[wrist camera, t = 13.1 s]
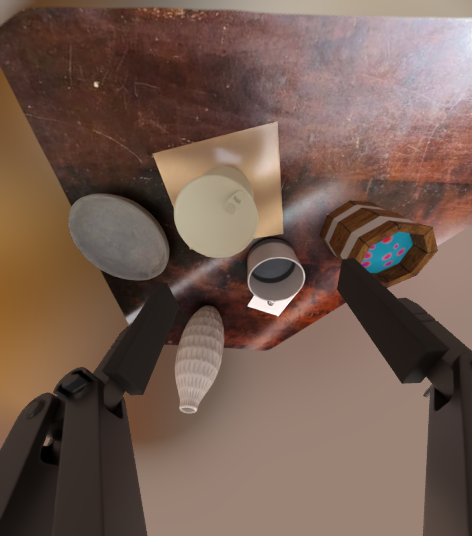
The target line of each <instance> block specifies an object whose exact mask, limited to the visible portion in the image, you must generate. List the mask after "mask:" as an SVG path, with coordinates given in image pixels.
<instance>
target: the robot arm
mask: <svg viewBox="0 0 472 536" xmlns="http://www.w3.org/2000/svg"><path fill="white" fill-rule="evenodd" d="M337 290H338V291H339V293H340V294H341V296H342V297H343V298H344V300H345V301H346V303H347V304H348V306H349V307H350V309H351V310H352V311H353V313H354V314H355V316H356V317H357V319H358V320H359V322H360V323H361V325H362V326H363V328H364V329H365V330H366V332H367V333H368V335H369V336H370V338H371V339H372V341H373V342H374V344H375V345H376V347H377V348H378V349H379V351H380V352H381V354H382V355H383V357H384V358H385V360H386V361H387V362H388V364H389V365H390V367H391V368H392V370H393V371H394V373H395V374H396V376H397V377H398V379H399V380H400V381H401V383H402V384H403V383H420V382H422V380H423V379H424V378H425V377H427V378H428V379H429V380H430V381H431V383H432V385H431V386H430V387H429V388H428V389H427V390H426V391H425V393H424V395H423V396H425V397H428V396H429V395H430V405H429V424H428V445H427V465H426V486H425V505H424V526H423V536H472V351H471V350H470V349H469V348H467V347H466V346H465V345H464V344H463V343H462V342H461V341H460V340H458V339H457V338H456V337H455V336H454V335H453V334H452V333H450V332H449V331H448V330H447V329H446V328H445V327H443V326H442V325H441V324H440V323H439V322H438V321H435V319H434V318H433V317H432V316H431V315H430V314H427V312H426V311H425V310H424V309H423V308H422V307H420V306H419V305H418V304H416V303H414V302H413V301H411V300H409V299H407V298H399V299H397V298H396V297H395V296H394V295H393V294H392V293H391V292H390V291H389V290H388V289H387V288H386V287H385V286H383V285H382V284H381V283H380V282H379V281H378V280H377V279H376V278H375V277H374V276H373V275H372V274H371V273H370V272H369V271H368V270H367V269H366V268H365V267H363V266H362V265H361V264H360V263H359V262H358V261H357V260H356V259H355V258H347V259H342V264H341V269H340V275H339V281H338V287H337ZM178 309H179V305H178V303H177V301H176V300H175V298H174V296H173V294H172V292H171V290H170V288H169V286H168V284H167V283H161V284H157V286H156V288H155V289H154V291H153V292H152V294H151V295H150V297H149V298H148V300H147V301H146V303H145V305H144V306H143V308H142V309H141V311H140V312H139V314H138V315H137V317H136V318H135V320H134V322H133V323H132V325H131V326H128V327H126V329H124V330H123V331H122V332H121V333H120V334H119V336H118V337H117V339H116V340H115V343H114V344H113V345H112V346H111V349H110V350H109V351H108V352H107V354H106V355H105V357H104V358H103V360H102V361H101V362H100V364H99V365H98V367H97V368H96V370H95V371H94V373H93V374H92V373H91V372H90V371H89V370H87V369H86V368H83V367H80V368H76V369H74V370H72V371H71V372H69V373H68V374H67V375H65V376H64V377H63V378H62V379H61V380H60V381H59V383H58V384H57V385H56V387H55V389H54V392H53V393H55V394H56V395H58V396H55V395H53V394H51V393H44V394H42V395H40V396H38V397H37V398H35V399H34V400H32V401H31V402H30V403H29V404H28V405H27V406H26V407H25V408H24V409H23V410H22V412H21V413H20V415H19V416H18V418H17V420H16V422H15V423H14V425H13V427H12V429H11V431H10V433H9V435H8V437H7V438H6V440H5V442H4V444H3V446H2V448H1V450H0V536H147V531H146V525H145V519H144V513H143V507H142V501H141V494H140V488H139V482H138V476H137V470H136V464H135V458H134V452H133V446H132V440H131V434H130V428H129V422H128V416H127V410H126V404H125V400H124V397H122V396H123V394H124V392H125V391H126V392H127V393H129V394H130V395H143V394H144V391H145V389H146V387H147V384H148V382H149V379H150V377H151V374H152V372H153V370H154V367H155V365H156V362H157V360H158V358H159V355H160V353H161V350H162V348H163V345H164V343H165V341H166V338H167V336H168V333H169V331H170V328H171V326H172V324H173V321H174V319H175V316H176V314H177V311H178ZM46 437H47V438H50V441H49V443H48V445H47V446H43V444H44V441H45V439H46Z"/></svg>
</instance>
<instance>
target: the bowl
mask: <svg viewBox="0 0 472 536" xmlns="http://www.w3.org/2000/svg"><path fill="white" fill-rule="evenodd" d="M68 224H69V230H70V233H71V236H72V238H73V240H74V243H75V245H76V246H77V248H78V249H79V250H80V252H81V253H82V254H83V255H84V256H85V257H86V258H87V259H88V260H89V261H90V262H91V263H93V264H94V265H95V266H96V267H98V268H99V269H101V270H102V271H104V272H106V273H108V274H111V275H113V276H116V277H119V278H123V279H128V280H148V279H151V278H154V277H156V276H158V275H159V274H160V273H161V272H162V271H163V270H164V269H165V267H166V266H167V263H168V259H169V245H168V240H167V237H166V235H165V233H164V231H163V229H162V227H161V225H160V224H159V223H158V221H157V220H156V219H155V218H154V217H153V215H152V214H150V213H149V212H148V211H147V210H146V209H145V208H143V207H142V206H141V205H139V204H137V203H136V202H134V201H132V200H130V199H127V198H124V197H121V196H118V195H113V194H91V195H87V196H84V197H82V198H80V199H78V200H77V201H76V202H75V203H74V204H73V206H72V207H71V210H70V213H69V220H68Z"/></svg>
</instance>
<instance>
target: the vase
mask: <svg viewBox="0 0 472 536" xmlns="http://www.w3.org/2000/svg"><path fill="white" fill-rule="evenodd" d="M223 348H224V327H223V322H222V319H221V316H220V314H219V312H218V311H217V309H216V308H215V307H213V306H209V305H207V306H203V307H202V308H200V309H199V310H198V311H197V312H196V313H195V314H194V315H193V316H192V317H191V319H190V320H189V322H188V323H187V325H186V327H185V329H184V332H183V334H182V336H181V340H180V343H179V346H178V350H177V355H176V362H175V377H176V384H177V388H178V392H179V397H180V410H181V411H182V412H185V413H194V412H196V411H197V408H198V405H199V403H200V401H201V400H202V398H203V397H204V395H205V394H206V393H207V391H208V390H209V388H210V387H211V385H212V384H213V382H214V380H215V378H216V376H217V373H218V370H219V368H220V364H221V360H222V355H223Z"/></svg>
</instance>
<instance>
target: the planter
mask: <svg viewBox="0 0 472 536" xmlns="http://www.w3.org/2000/svg"><path fill="white" fill-rule="evenodd" d="M247 274H248V286H249V289H250V291H251V292H252V293H253V294H254V295H255V296H256V297H258V298H260V299H262V300H265V301H272V302H276V301H282V300H286V299H288V298H290V297H292V296H294V295H295V294H296V293H298V292H299V291H300V289H301V288H302V286H303V284H304V281H305V272H304V270H303V268H302V266H301V264H300V262H299V260H298V258H297V256H296V254H295V252H294V250H293V248H292V247H291V246H290V245H289V244H288V243H287V242H285V241H283V240H280V239H267V240H263V241H261V242H259V243H257V244H256V245H255V246H254V247H253V248H252V249H251V250H250V252H249V254H248V257H247Z"/></svg>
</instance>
